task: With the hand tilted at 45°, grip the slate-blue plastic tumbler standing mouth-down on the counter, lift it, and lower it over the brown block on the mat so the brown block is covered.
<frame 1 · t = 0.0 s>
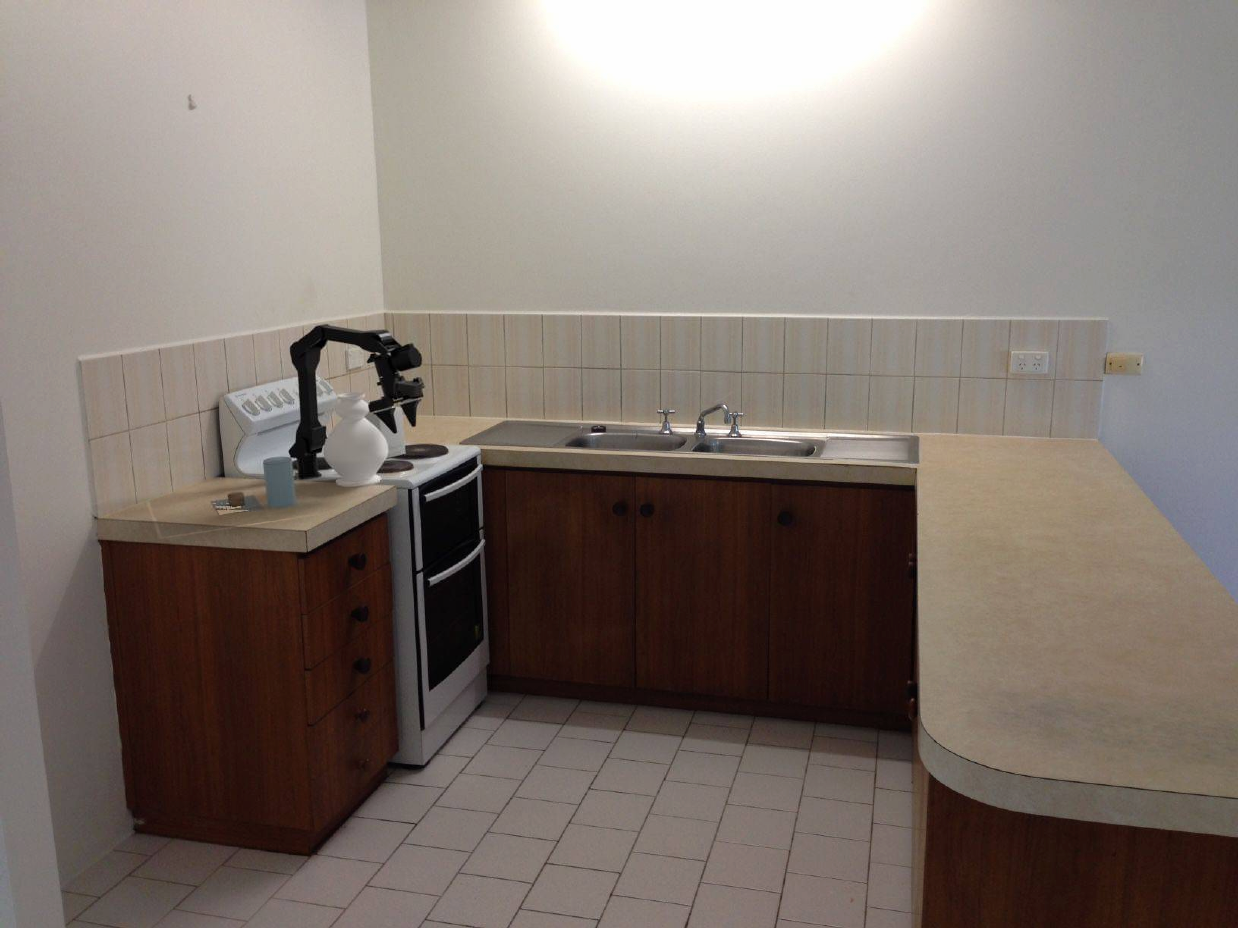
hand: (404, 430, 300), 15 cm above the countertop, tool pointing down, fingers open, 9 cm apart
mat: (237, 506, 286), on the countertop
brown block: (236, 504, 286), resting on mat
decorative vase: (358, 482, 309), on the countertop
supplement box: (386, 455, 341), on the countertop
tumbler: (282, 505, 285), on the countertop
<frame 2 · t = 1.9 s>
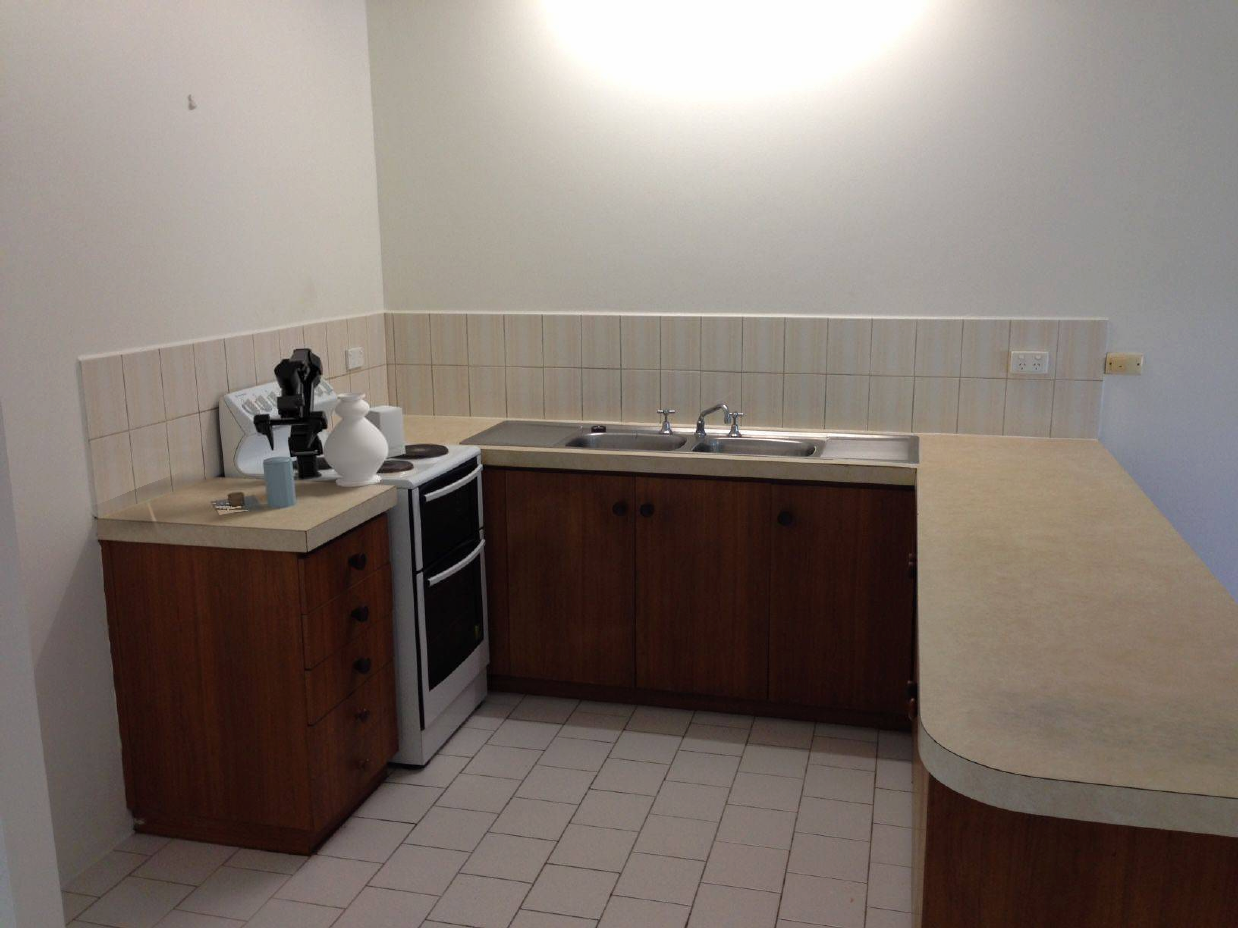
hand: (290, 448, 290), 14 cm above the countertop, tool tilted 45°, fingers open, 9 cm apart
nothing on the countertop moved.
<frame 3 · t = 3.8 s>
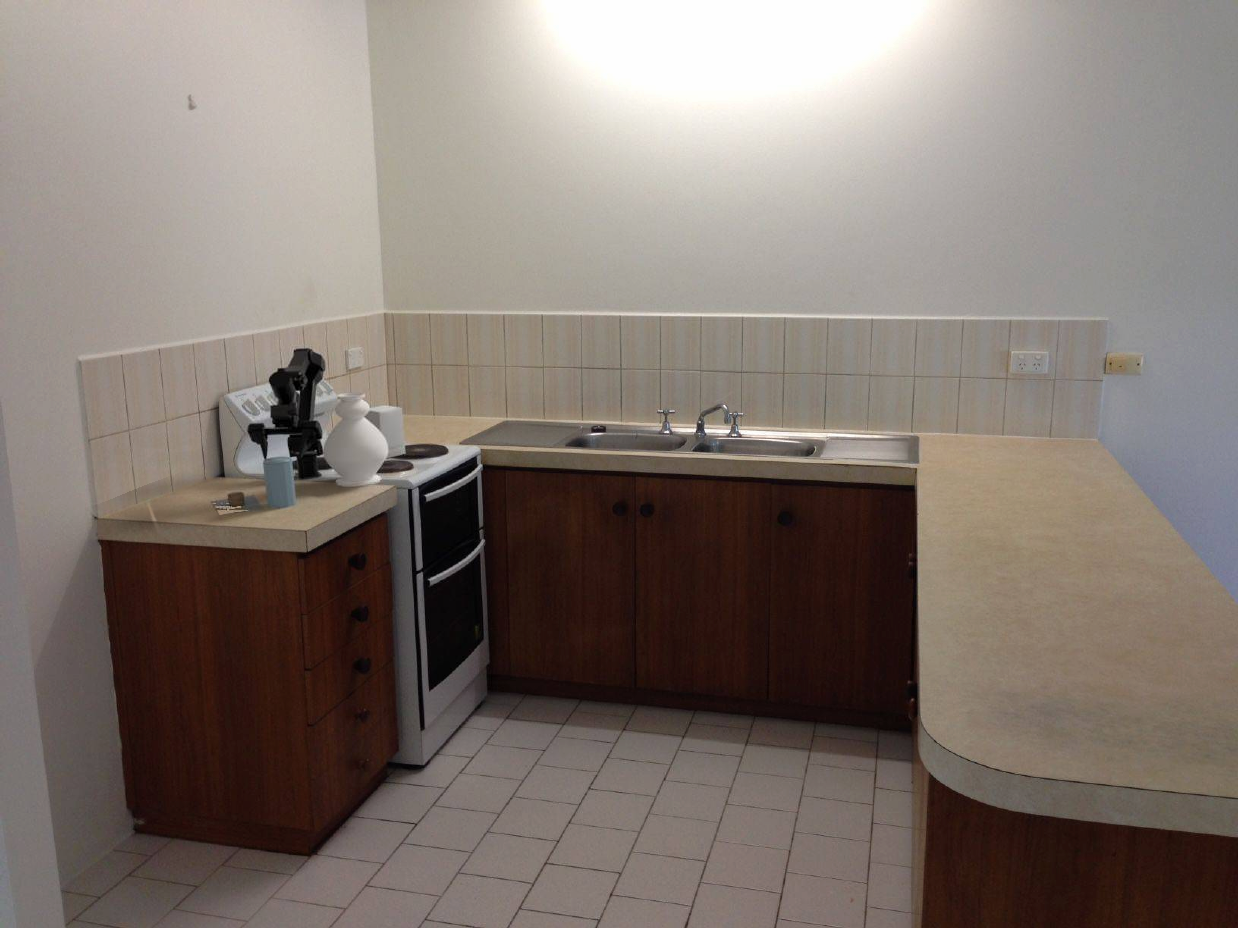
hand: (282, 457, 288), 12 cm above the countertop, tool tilted 45°, fingers open, 9 cm apart
nothing on the countertop moved.
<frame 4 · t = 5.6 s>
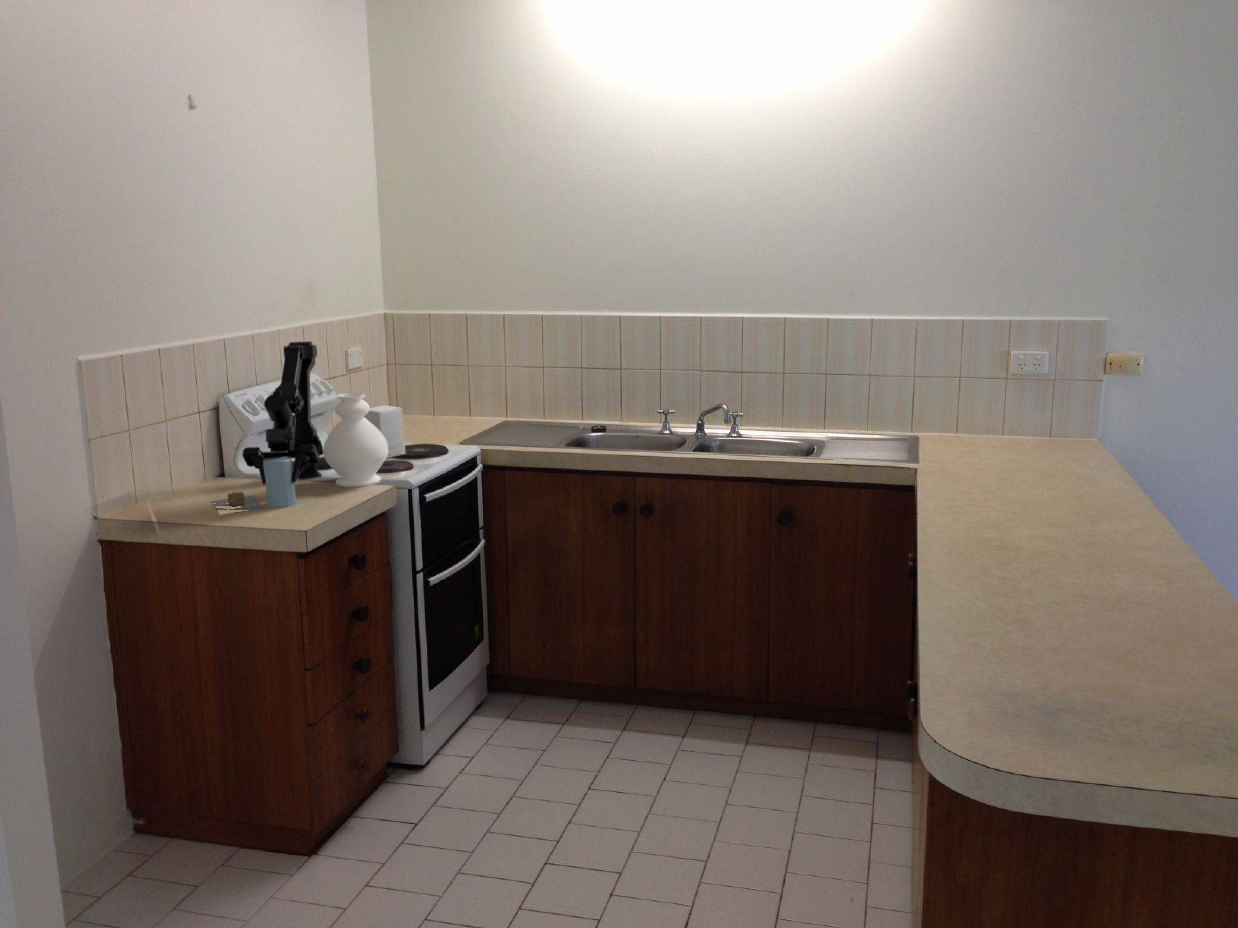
hand: (278, 482, 282), 7 cm above the countertop, tool tilted 45°, fingers closed on tumbler, 7 cm apart
tumbler: (282, 505, 285), on the countertop, touching gripper
everything else where it was.
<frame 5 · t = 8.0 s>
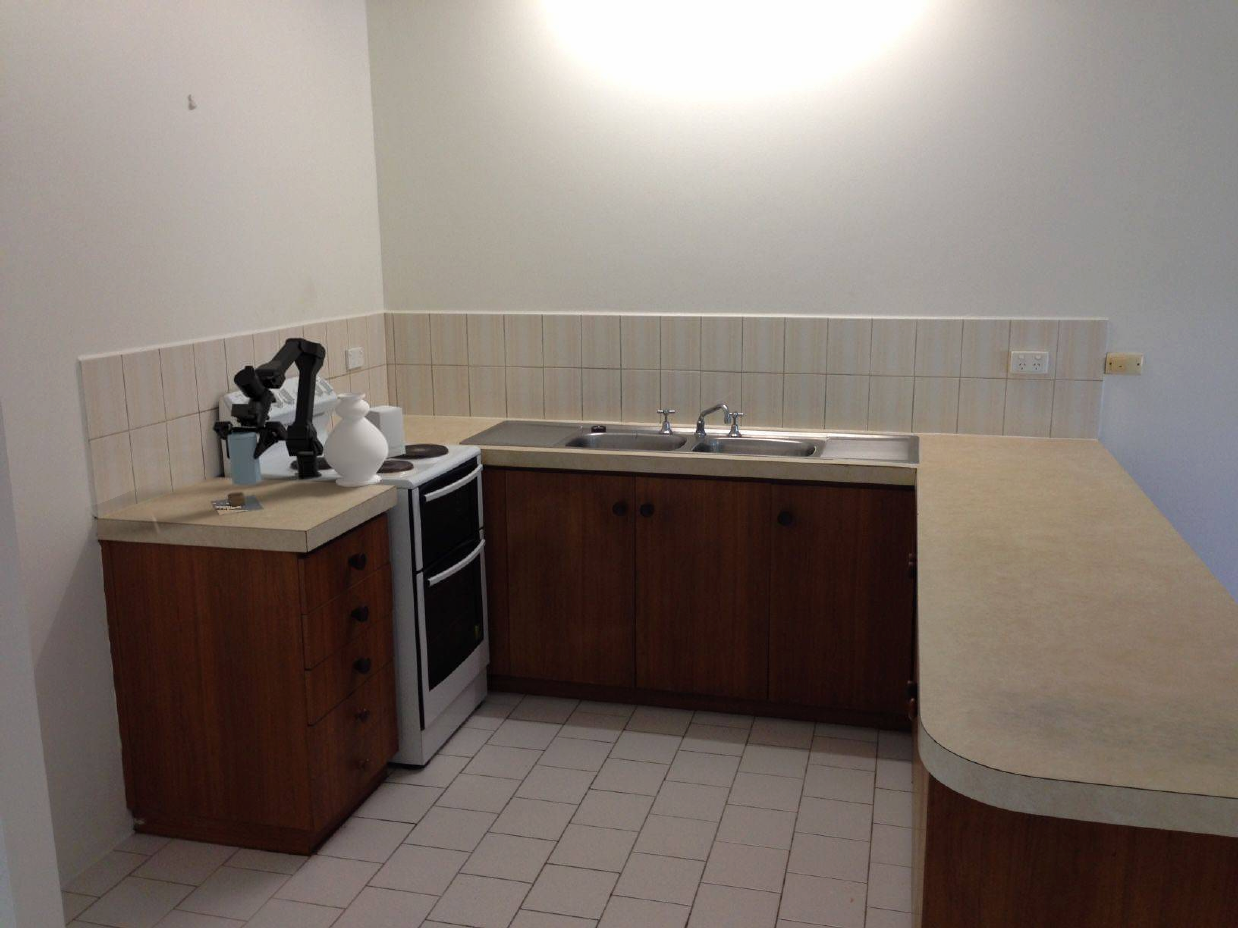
hand: (241, 458, 281), 14 cm above the countertop, tool tilted 45°, fingers closed on tumbler, 7 cm apart
tumbler: (247, 481, 284), point 7 cm above the countertop, touching gripper
everything else where it was.
when the fingers open (8 cm above the countertop, at t = 10.5 s): tumbler drops 1 cm, resting on mat.
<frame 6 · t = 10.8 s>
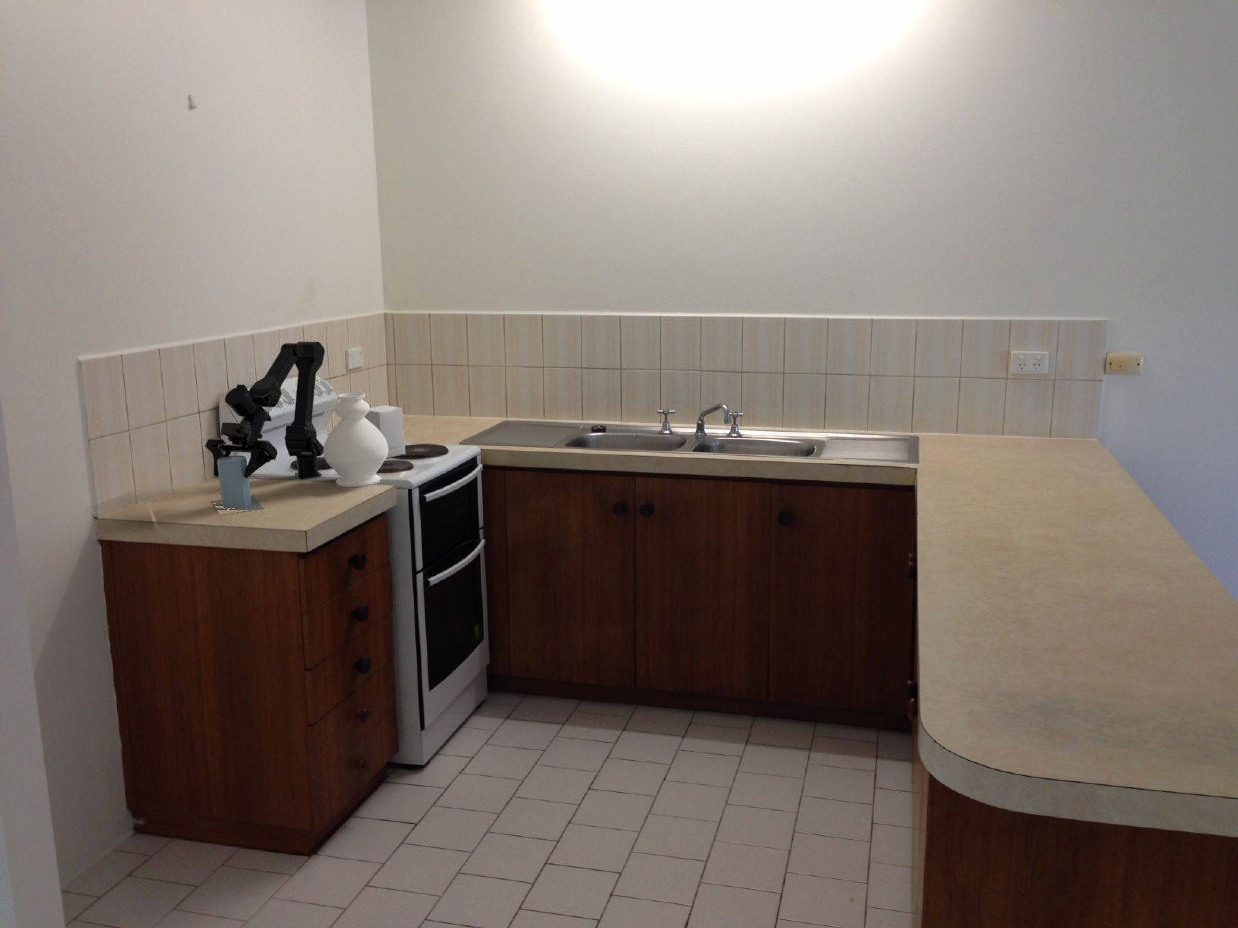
hand: (230, 476, 283), 9 cm above the countertop, tool tilted 45°, fingers open, 9 cm apart
tumbler: (237, 504, 286), resting on mat
everything else where it was.
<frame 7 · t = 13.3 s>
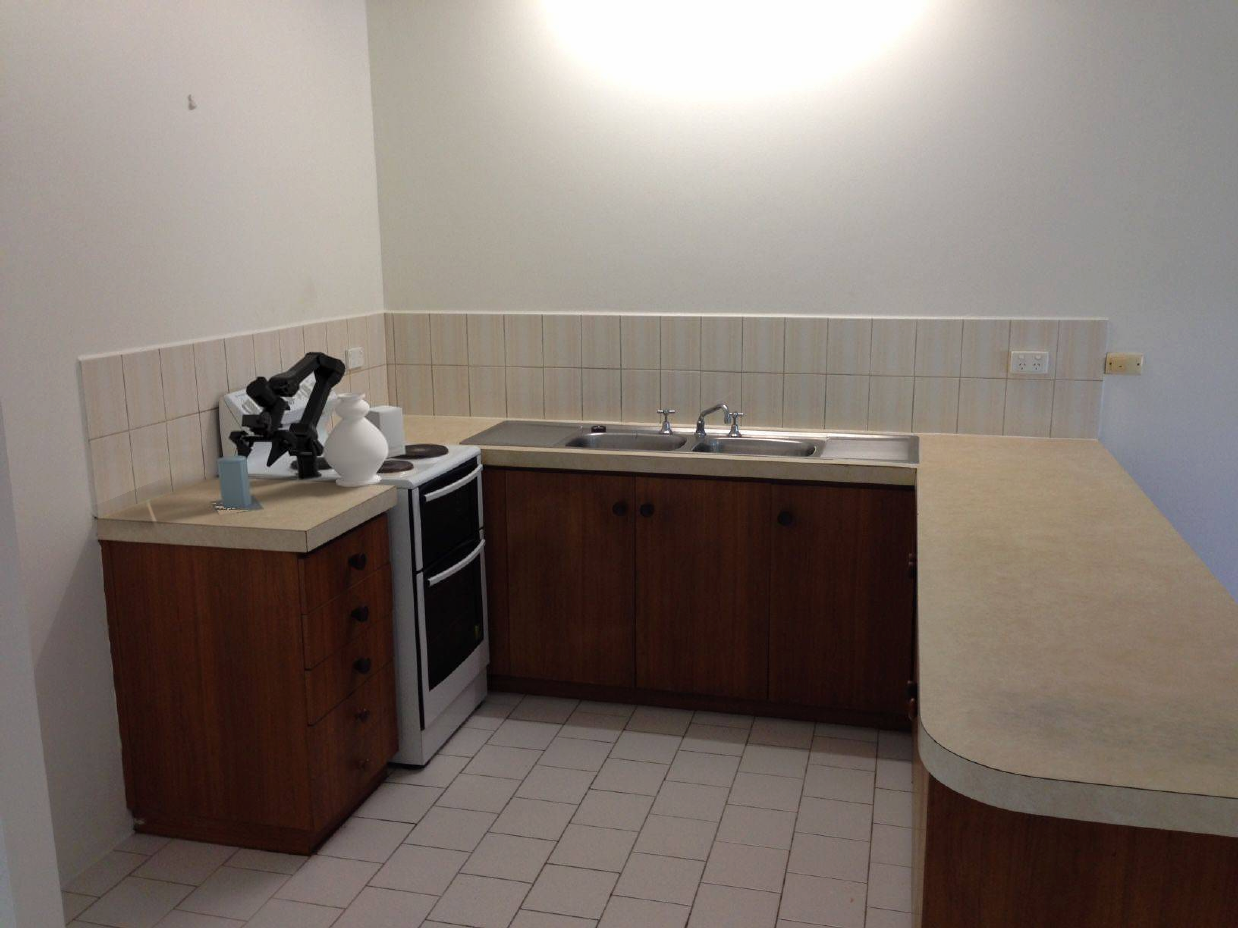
hand: (253, 466, 291), 9 cm above the countertop, tool tilted 40°, fingers open, 9 cm apart
nothing on the countertop moved.
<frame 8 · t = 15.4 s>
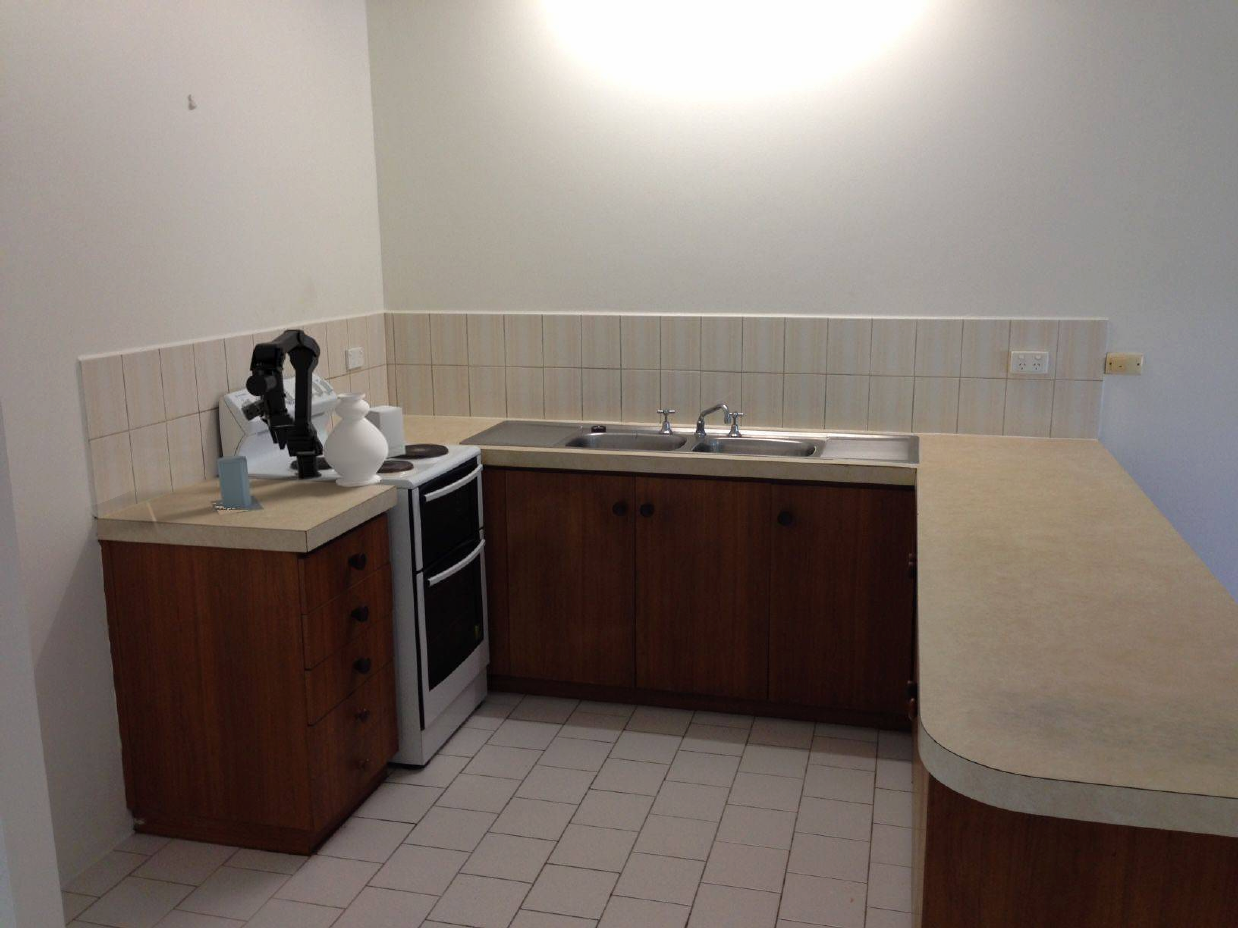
hand: (278, 446, 296), 13 cm above the countertop, tool pointing down, fingers open, 9 cm apart
nothing on the countertop moved.
at the end: tumbler 0.1 cm from the brown block (horizontally); tumbler point 0.5 cm above the countertop; tumbler tilted 0° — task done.
